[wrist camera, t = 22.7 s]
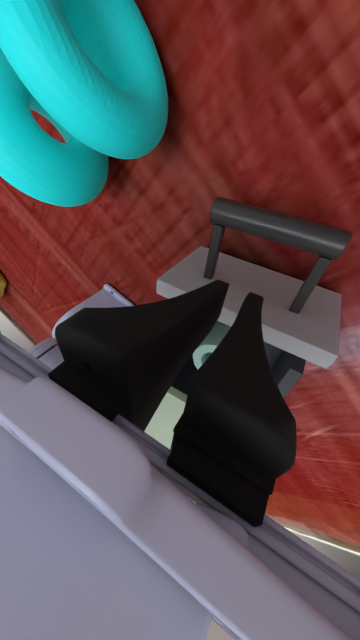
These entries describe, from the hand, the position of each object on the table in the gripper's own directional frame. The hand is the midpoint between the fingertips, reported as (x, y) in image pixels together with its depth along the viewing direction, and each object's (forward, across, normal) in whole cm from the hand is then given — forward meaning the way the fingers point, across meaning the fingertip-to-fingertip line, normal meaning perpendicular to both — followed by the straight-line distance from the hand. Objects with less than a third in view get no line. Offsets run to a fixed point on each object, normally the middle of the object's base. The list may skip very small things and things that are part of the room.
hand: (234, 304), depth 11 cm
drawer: (+8, 0, +6) cm, 10 cm away
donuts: (+10, +15, -6) cm, 19 cm away
